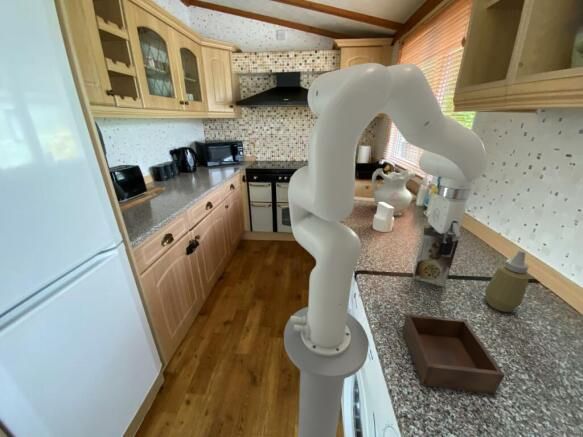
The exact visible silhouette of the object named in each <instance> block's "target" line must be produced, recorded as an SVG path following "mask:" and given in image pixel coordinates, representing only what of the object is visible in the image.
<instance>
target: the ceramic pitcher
mask: <svg viewBox="0 0 583 437" xmlns="http://www.w3.org/2000/svg"><path fill="white" fill-rule="evenodd" d="M383 170H384V168H380V167H379V168H377V169H376V170H375V171H374V172H372V177H371V184H372V188H373V190H374V192H373V196H374V197H373V198H374V204H375V205H376V206H378V202H385V203H387V204H388V205H390V206H392V207H394V212H393V216H395V217H396V216H402V215H403V213H402V211H404V210H406V209H407V208H409V206H410V204H411V202H412V200H413V199H412V197H413V196H412V194H411V192H410V191H409V190H408V189H407V186H406V185H407V183H408V182H409V180H410V179H412V178H415V177H416V173H415V172H414V171H411V170H408V169H404V170H403V169H402V170H401V171H400V172H396V171H391V172H390V173H388V174H386V173H384V171H383ZM377 176H381V177H382V179H383V184H382V186H381V187H379V188H378V184H377V181H376V180H377Z"/></svg>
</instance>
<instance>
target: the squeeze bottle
mask: <svg viewBox="0 0 583 437" xmlns="http://www.w3.org/2000/svg"><path fill="white" fill-rule="evenodd" d="M525 259H526V251H525V250H523V249H519V251H517V253H516V254H515V255H514V256H513V258H507V259H506V260H505V262H504V264H501V265H498V267H497V269H496V270H495V272H494V274H493V275H492V277H491V279H490V281H489V283H488V284H487V286H486V288H485V298H486V300H485V301H486V303H487V304H488V305H489V306H490V307H492V308H493V309H495V310H497V311H500V312H504V313H510V312H512V311H514V310H515V309H516V308H518V307H519V306H521V304H522V303H523V300H524V297H525V293H526V291H527V287H528V284H529V281H530V274H529V273H528V270H529V264H528V263H525V261H526V260H525Z"/></svg>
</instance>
